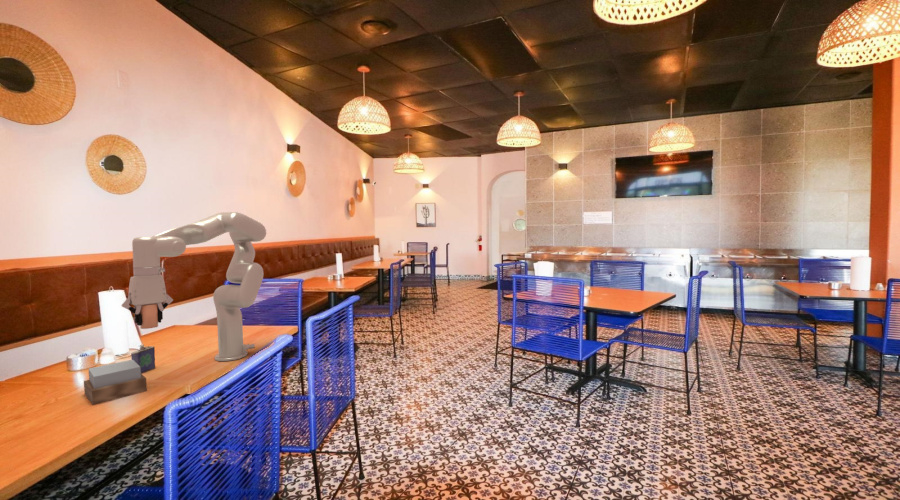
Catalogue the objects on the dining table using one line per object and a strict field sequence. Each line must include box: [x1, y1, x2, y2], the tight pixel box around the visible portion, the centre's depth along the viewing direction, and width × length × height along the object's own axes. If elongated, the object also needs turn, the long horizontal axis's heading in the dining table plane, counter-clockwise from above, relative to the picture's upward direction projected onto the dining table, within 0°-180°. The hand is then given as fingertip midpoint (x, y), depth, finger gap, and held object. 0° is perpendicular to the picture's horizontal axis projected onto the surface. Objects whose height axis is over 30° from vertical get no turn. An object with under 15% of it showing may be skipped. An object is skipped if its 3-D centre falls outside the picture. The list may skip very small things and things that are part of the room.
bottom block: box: [83, 373, 148, 406], centre depth 135 cm, size 14×14×5 cm
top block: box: [88, 359, 141, 389], centre depth 135 cm, size 12×12×4 cm
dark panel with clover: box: [130, 344, 156, 375], centre depth 155 cm, size 9×3×11 cm, turn 172°
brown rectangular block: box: [139, 304, 159, 330], centre depth 139 cm, size 5×5×8 cm
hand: (149, 323), depth 139 cm, fingers closed on brown rectangular block, 5 cm apart
